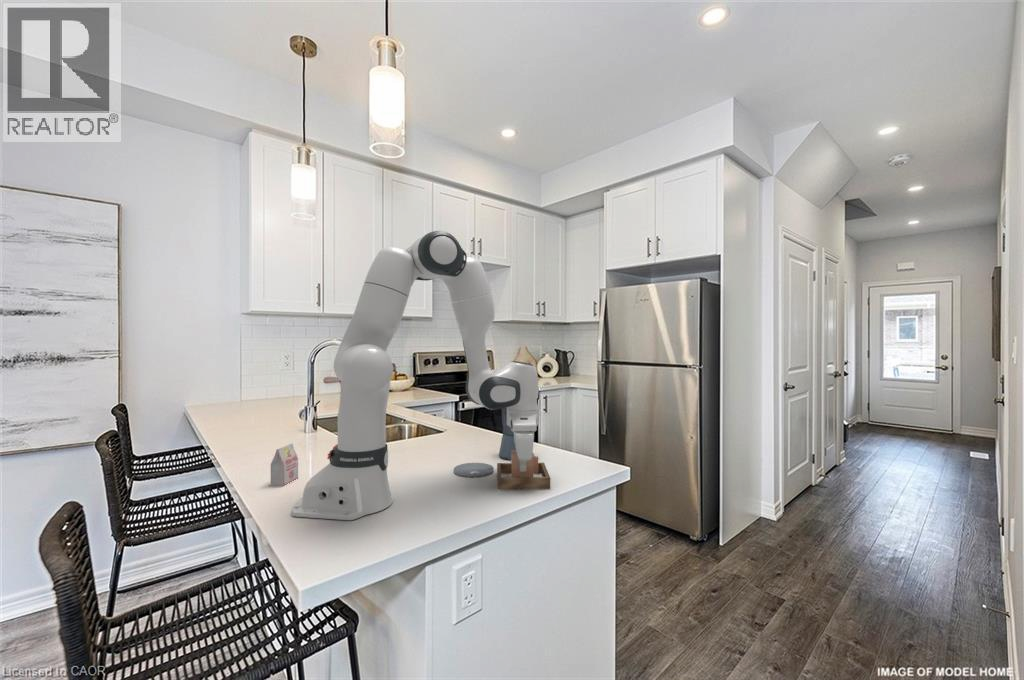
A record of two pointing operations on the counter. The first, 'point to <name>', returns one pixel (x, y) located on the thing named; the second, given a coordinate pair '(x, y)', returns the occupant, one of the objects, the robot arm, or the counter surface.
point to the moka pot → (504, 435)
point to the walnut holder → (522, 478)
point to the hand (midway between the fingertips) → (522, 467)
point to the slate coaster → (473, 470)
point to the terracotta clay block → (530, 466)
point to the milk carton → (284, 466)
